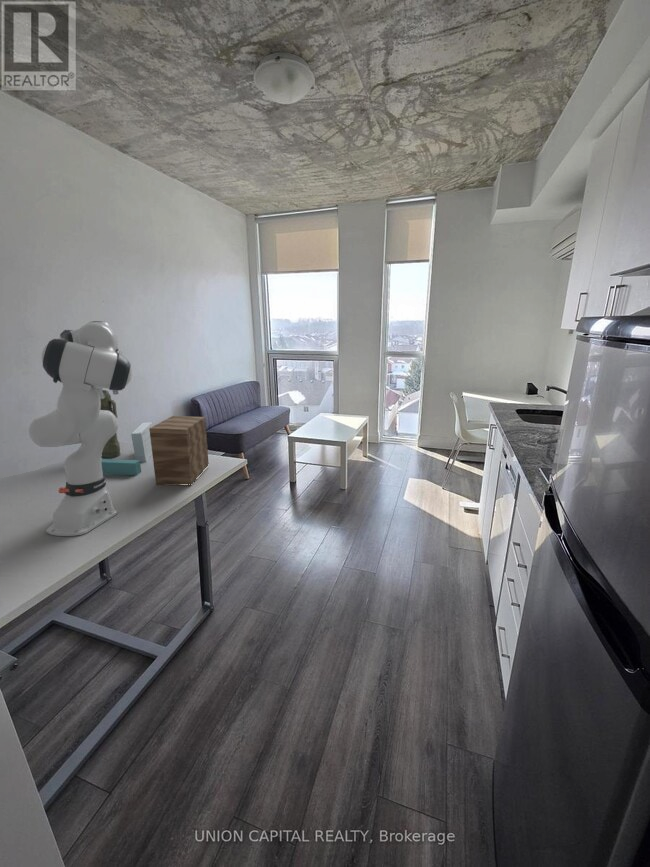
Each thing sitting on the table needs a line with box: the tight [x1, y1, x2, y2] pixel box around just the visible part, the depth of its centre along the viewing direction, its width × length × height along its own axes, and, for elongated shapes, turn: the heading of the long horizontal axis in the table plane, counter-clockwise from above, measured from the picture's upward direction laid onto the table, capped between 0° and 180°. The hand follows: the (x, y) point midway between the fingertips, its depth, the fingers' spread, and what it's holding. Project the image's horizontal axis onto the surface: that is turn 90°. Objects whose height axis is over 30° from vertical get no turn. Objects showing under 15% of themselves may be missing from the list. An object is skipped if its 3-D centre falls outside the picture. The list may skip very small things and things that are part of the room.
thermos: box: [100, 389, 121, 459], centre depth 189 cm, size 9×12×35 cm
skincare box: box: [130, 421, 154, 463], centre depth 193 cm, size 21×6×16 cm, turn 10°
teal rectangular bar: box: [101, 458, 142, 476], centre depth 172 cm, size 4×24×6 cm, turn 88°
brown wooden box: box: [149, 415, 210, 485], centre depth 168 cm, size 22×16×26 cm
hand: (109, 396), depth 152 cm, fingers open, 8 cm apart
